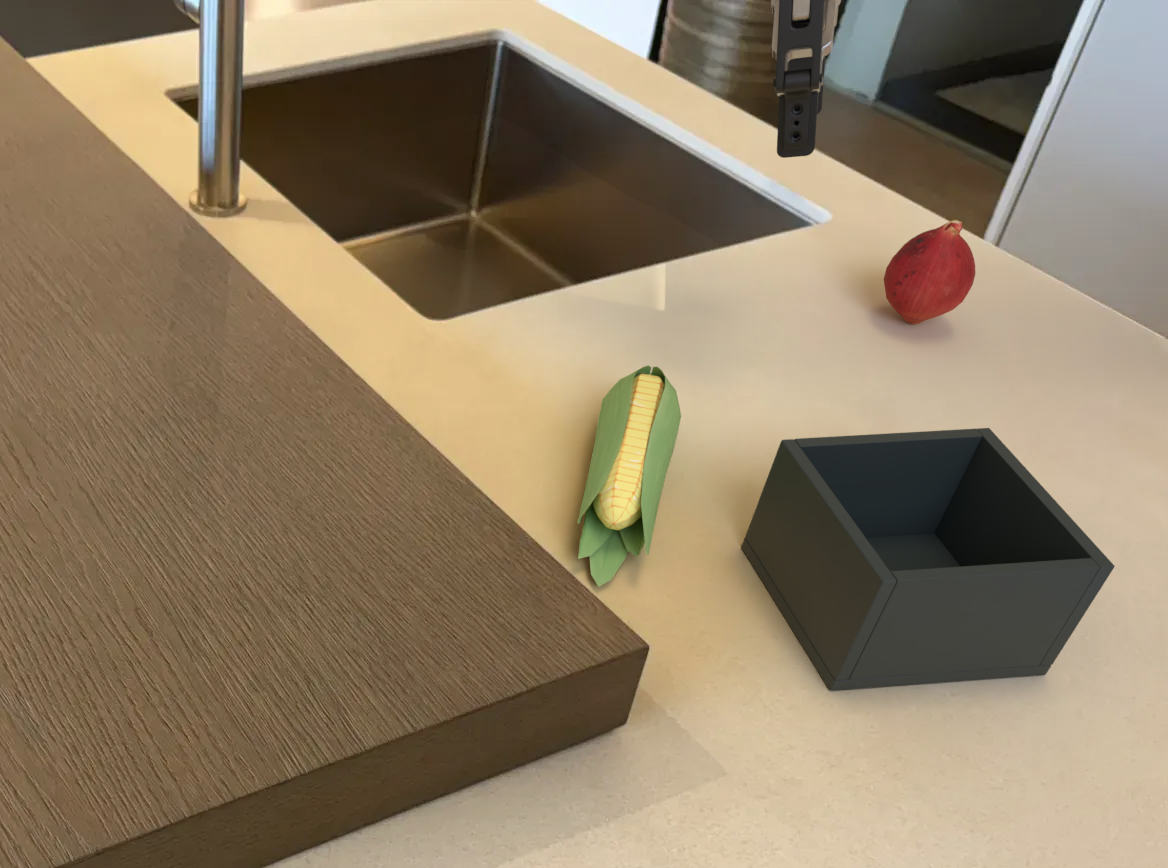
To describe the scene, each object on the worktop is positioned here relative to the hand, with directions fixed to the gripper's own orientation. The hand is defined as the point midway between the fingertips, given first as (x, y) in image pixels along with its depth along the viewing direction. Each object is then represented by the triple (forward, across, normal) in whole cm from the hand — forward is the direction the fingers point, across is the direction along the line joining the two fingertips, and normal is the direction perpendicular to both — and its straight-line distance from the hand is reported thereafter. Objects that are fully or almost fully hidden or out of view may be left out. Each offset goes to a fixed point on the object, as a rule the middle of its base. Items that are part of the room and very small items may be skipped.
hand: (799, 134), depth 89 cm
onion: (+17, +9, -8) cm, 21 cm away
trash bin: (+19, -26, -7) cm, 34 cm away
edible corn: (+15, -22, +8) cm, 28 cm away
